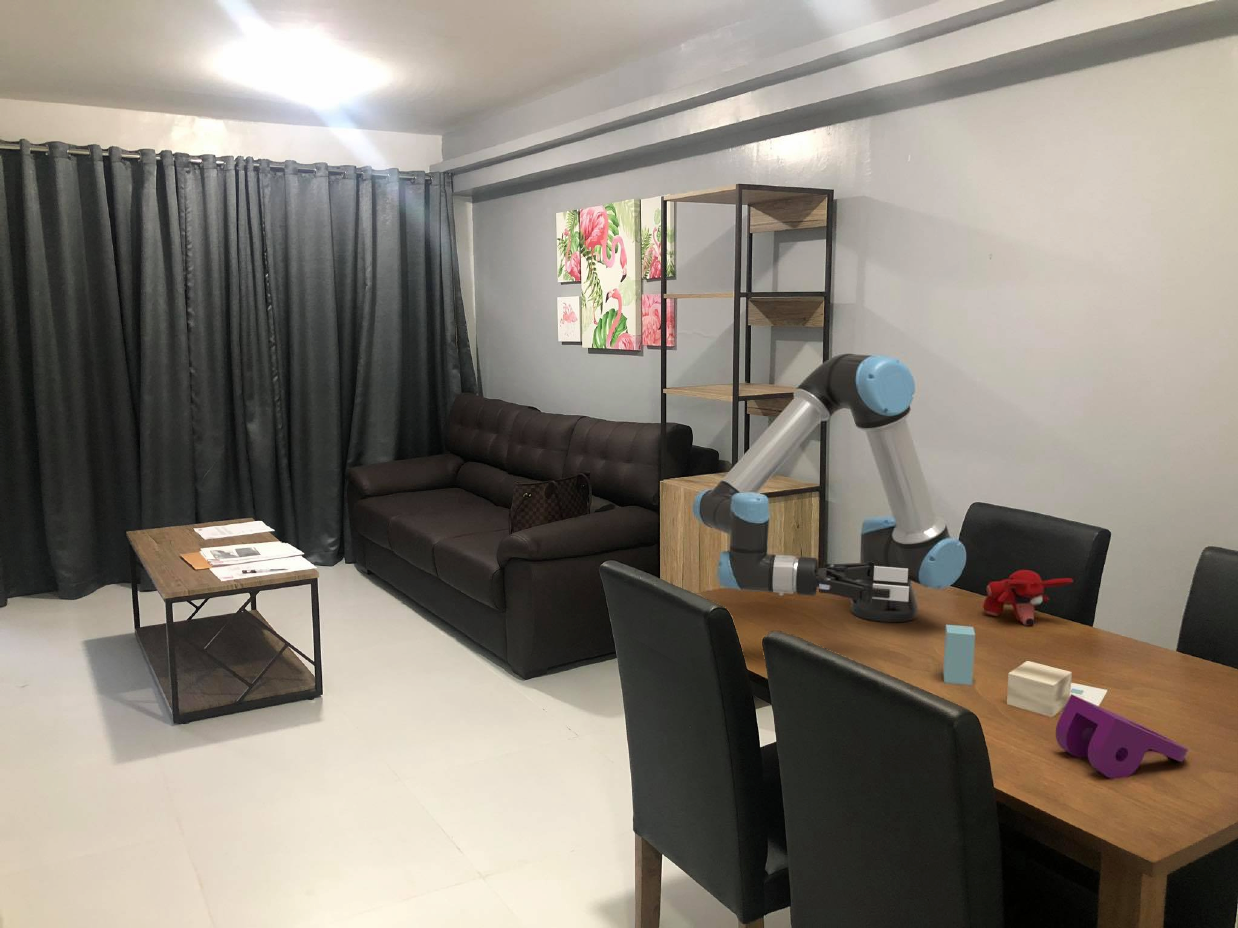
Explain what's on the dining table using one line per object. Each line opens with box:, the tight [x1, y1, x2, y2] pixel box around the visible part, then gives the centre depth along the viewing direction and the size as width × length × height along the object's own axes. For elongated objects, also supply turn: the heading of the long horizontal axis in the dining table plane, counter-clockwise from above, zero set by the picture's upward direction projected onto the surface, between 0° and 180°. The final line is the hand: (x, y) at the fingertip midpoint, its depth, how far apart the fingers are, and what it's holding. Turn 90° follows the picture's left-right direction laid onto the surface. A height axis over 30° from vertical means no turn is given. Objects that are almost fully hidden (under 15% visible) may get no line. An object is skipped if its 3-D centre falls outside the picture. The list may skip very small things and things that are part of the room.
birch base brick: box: [1006, 660, 1073, 718], centre depth 176 cm, size 8×8×6 cm
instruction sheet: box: [1070, 682, 1108, 707], centre depth 181 cm, size 12×9×1 cm
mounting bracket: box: [1055, 694, 1189, 780], centre depth 155 cm, size 10×9×19 cm
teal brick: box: [942, 624, 976, 686], centre depth 188 cm, size 5×5×10 cm
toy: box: [982, 569, 1074, 627], centre depth 223 cm, size 16×12×16 cm
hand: (908, 584), depth 188 cm, fingers open, 13 cm apart
